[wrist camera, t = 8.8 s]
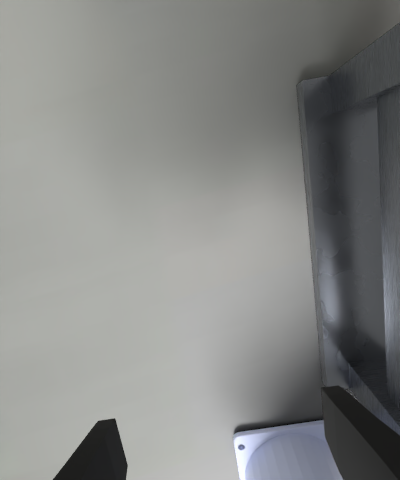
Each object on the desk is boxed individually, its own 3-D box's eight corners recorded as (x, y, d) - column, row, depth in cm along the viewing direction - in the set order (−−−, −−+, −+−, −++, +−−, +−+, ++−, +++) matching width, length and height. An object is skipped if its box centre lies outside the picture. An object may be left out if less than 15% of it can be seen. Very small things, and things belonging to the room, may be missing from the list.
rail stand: (405, 369, 22) (502, 460, 15) (322, 381, 22) (379, 477, 15) (399, 67, 18) (529, -1, 11) (296, 85, 18) (359, 28, 11)
